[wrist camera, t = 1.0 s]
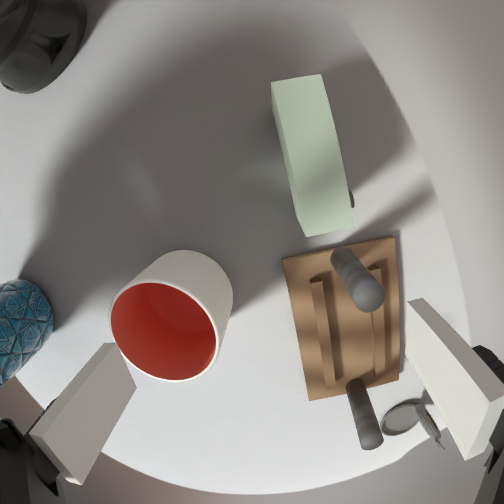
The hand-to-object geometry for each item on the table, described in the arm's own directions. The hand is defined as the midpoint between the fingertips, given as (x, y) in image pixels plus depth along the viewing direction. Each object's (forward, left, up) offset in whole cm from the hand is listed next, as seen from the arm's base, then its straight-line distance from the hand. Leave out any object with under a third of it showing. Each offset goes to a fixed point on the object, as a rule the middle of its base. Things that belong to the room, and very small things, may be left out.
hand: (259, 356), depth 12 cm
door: (-8, +5, -20) cm, 22 cm away
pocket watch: (+29, +15, -20) cm, 39 cm away
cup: (+3, -9, -20) cm, 23 cm away
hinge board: (+11, +7, -20) cm, 24 cm away
